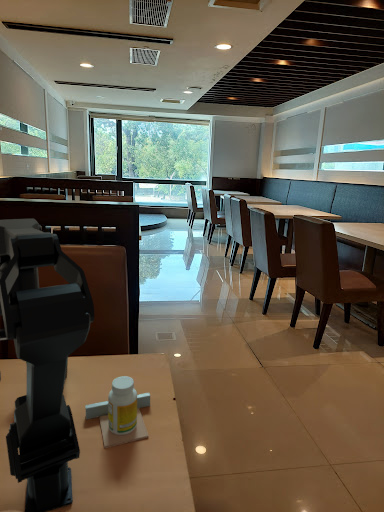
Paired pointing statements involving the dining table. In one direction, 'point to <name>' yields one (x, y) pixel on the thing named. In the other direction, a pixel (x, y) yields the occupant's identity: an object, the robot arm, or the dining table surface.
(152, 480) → the dining table surface
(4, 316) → the robot arm
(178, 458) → the dining table surface
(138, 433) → the mat
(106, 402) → the low wall
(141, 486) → the dining table surface
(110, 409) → the supplement bottle
